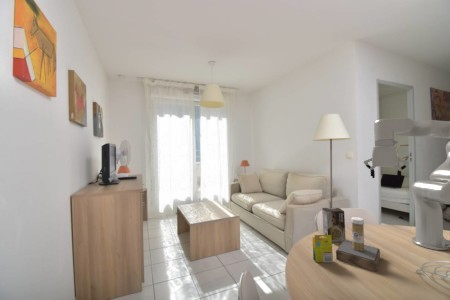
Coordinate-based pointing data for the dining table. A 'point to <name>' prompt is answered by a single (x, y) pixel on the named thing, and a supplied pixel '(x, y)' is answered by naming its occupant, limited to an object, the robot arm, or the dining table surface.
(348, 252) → the walnut plinth
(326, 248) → the crayon box
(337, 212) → the coffee box
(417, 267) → the dining table surface
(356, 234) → the spice jar
